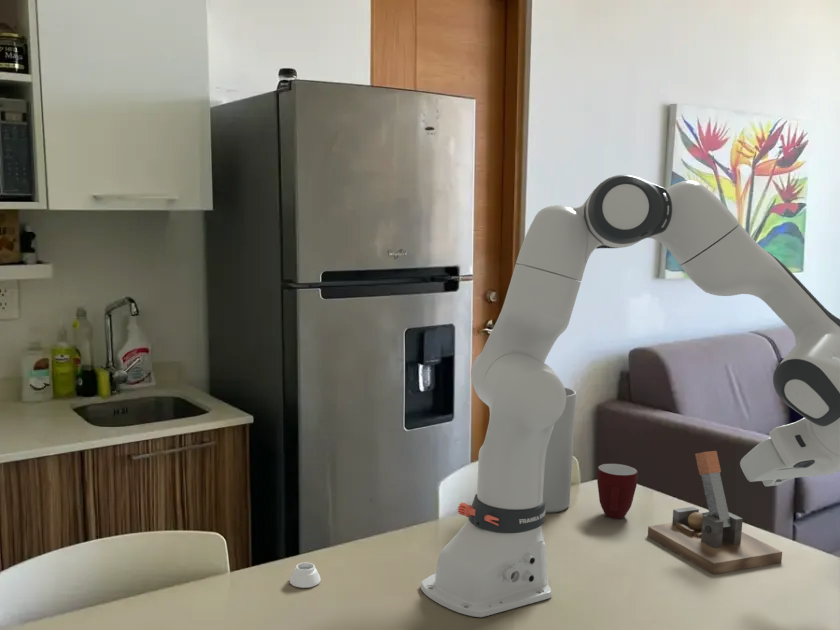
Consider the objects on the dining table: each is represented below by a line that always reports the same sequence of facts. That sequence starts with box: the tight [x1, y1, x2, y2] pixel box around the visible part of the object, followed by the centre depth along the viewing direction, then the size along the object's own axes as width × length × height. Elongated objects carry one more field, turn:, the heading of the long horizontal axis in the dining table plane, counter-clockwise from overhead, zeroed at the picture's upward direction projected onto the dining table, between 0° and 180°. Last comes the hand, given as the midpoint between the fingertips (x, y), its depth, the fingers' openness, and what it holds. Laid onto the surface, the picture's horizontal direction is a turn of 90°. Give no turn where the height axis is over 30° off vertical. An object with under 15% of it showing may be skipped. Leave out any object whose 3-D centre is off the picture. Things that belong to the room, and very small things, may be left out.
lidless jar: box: [289, 561, 321, 589], centre depth 133 cm, size 5×3×5 cm
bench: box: [647, 506, 783, 575], centre depth 153 cm, size 16×18×7 cm
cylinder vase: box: [543, 386, 577, 514], centre depth 173 cm, size 12×12×25 cm
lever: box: [694, 450, 731, 527], centre depth 154 cm, size 3×5×14 cm, turn 23°
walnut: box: [688, 512, 703, 531], centre depth 157 cm, size 4×4×4 cm
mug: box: [596, 463, 638, 520], centre depth 167 cm, size 11×8×10 cm
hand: (769, 482), depth 140 cm, fingers closed
